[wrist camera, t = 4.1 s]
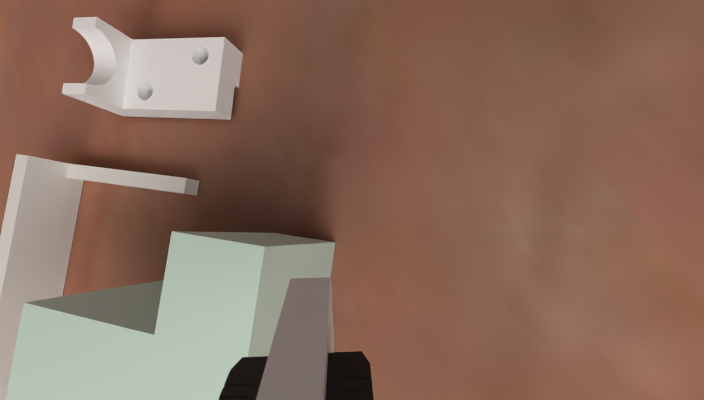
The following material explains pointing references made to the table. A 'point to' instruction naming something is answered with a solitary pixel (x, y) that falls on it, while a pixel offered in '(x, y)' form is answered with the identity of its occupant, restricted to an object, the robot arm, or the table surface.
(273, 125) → the table surface
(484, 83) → the table surface
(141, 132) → the table surface
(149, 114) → the bracket
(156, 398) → the t block
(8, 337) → the white u channel
